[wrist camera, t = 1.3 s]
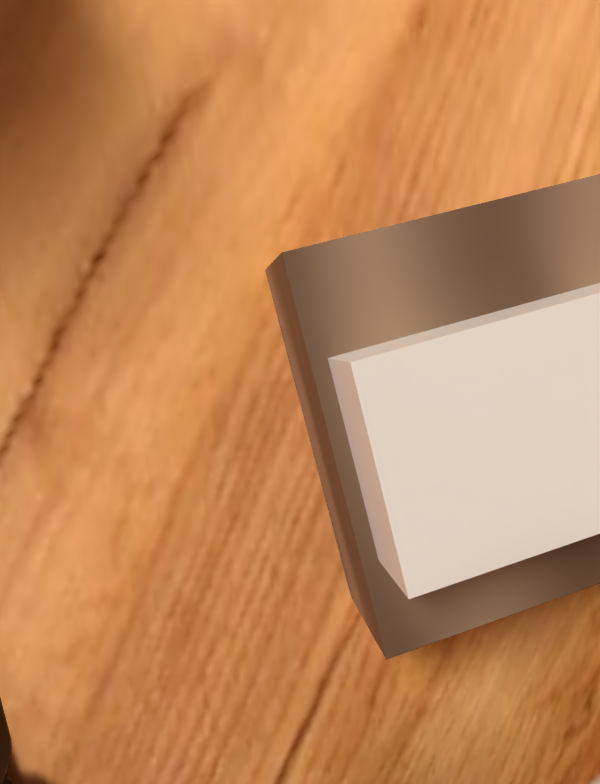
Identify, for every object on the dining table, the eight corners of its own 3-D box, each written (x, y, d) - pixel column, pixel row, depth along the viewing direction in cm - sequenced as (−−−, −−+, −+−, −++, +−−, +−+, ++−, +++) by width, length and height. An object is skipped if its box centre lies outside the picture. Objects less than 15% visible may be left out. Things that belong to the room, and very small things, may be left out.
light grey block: (378, 560, 16) (408, 598, 14) (327, 358, 15) (350, 362, 13) (651, 469, 17) (722, 491, 15) (618, 277, 16) (687, 268, 14)
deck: (351, 596, 20) (386, 659, 16) (265, 269, 19) (282, 252, 15) (639, 499, 22) (734, 534, 18) (584, 190, 20) (675, 155, 16)
